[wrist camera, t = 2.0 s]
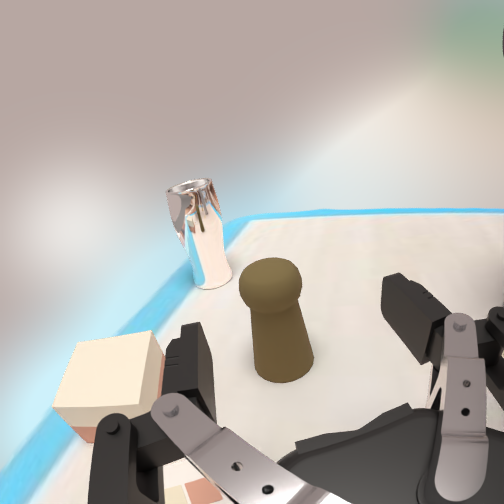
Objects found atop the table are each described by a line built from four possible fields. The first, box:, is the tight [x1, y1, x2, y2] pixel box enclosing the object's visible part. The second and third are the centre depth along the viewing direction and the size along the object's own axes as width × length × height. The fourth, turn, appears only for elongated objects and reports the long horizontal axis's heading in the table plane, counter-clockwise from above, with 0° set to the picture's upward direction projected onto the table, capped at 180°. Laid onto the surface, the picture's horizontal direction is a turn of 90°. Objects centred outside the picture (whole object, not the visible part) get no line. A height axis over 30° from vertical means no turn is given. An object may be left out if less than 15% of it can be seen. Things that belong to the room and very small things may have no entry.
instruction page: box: [163, 460, 233, 504], centre depth 16 cm, size 10×7×1 cm
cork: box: [239, 258, 314, 383], centre depth 26 cm, size 6×6×11 cm
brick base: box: [52, 330, 166, 443], centre depth 24 cm, size 9×9×6 cm
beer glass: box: [166, 178, 232, 289], centre depth 43 cm, size 7×7×15 cm
